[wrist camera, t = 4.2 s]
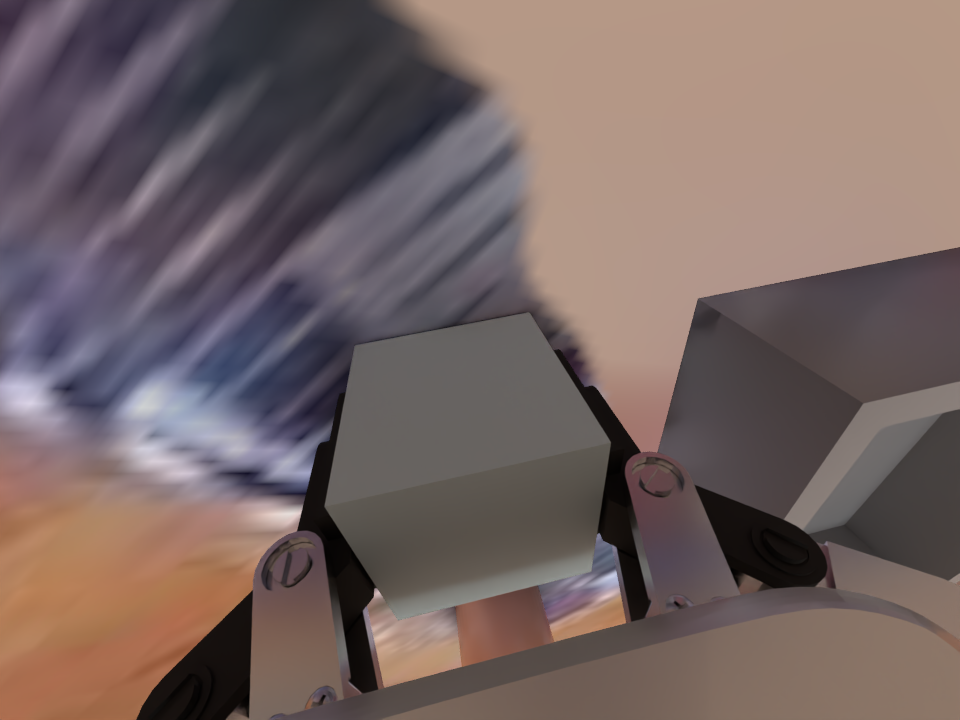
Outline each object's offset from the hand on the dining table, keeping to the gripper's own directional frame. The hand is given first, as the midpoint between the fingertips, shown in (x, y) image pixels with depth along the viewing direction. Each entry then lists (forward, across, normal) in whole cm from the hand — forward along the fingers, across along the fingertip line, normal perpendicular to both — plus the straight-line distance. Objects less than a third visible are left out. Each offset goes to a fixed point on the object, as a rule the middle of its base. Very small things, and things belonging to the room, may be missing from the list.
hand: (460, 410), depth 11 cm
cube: (+1, 0, 0) cm, 1 cm away
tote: (+1, -15, +7) cm, 17 cm away
